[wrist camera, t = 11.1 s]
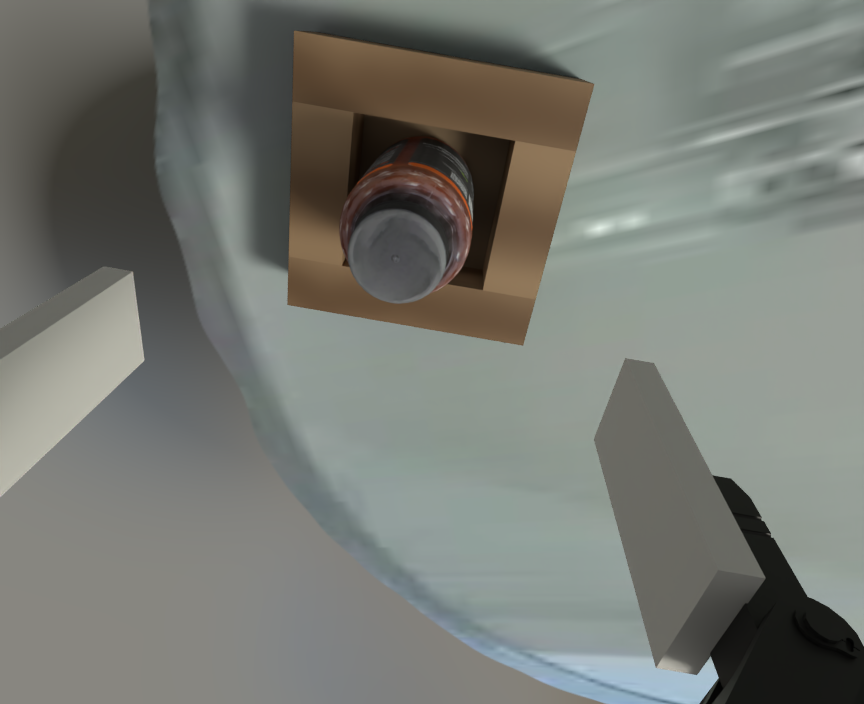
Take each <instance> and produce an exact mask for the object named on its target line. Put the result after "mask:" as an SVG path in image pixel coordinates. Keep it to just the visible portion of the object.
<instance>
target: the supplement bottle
mask: <svg viewBox="0 0 864 704" xmlns="http://www.w3.org/2000/svg"><path fill="white" fill-rule="evenodd" d="M473 200H474V187H473V182H472V176H471V173H470V171H469V168H468V166H467V164H466V162H465V161H464V160H463V158H462V156H461V155H460V154H459V153H458V152H457V151H456V150H455V149H453V148H452V147H451V146H450V145H448V144H446V143H445V142H443V141H441V140H438V139H435V138H431V137H424V136H416V137H408V138H405V139H402V140H400V141H398V142H396V143H394V144H393V145H391V146H390V147H388V148H387V149H386V150H385V151H383V153H382V154H381V155H380V156H379V157H378V158H377V159H376V161H375V162H374V163H373V164H372V166H371V167H370V168H369V169H368V170H367V172H366V173H365V174H364V175H363V177H362V178H361V179H360V181H358V183H357V184H356V186H355V187H354V188H353V190H352V191H351V192H350V194H349V195H348V197H347V199H346V201H345V204H344V206H343V209H342V213H341V217H340V224H339V235H340V241H341V247H342V250H343V253H344V255H345V257H346V260H347V262H348V263H349V267H350V270H351V272H352V275H353V277H354V278H355V280H356V281H357V283H358V284H359V285H360V286H361V287H362V288H363V289H364V290H365V291H366V292H367V293H369V294H370V295H372V296H373V297H375V298H377V299H379V300H382V301H385V302H389V303H397V304H402V303H409V302H414V301H417V300H419V299H422V298H423V297H425V296H427V295H429V294H430V293H433V292H435V291H438V290H439V289H440V288H442V287H444V286H445V285H446V284H448V283H449V282H450V281H451V280H452V279H453V278H454V277H455V276H456V275H457V274H458V273H459V271H460V270H461V268H462V267H463V265H464V263H465V261H466V258H467V256H468V253H469V249H470V245H471V238H472V226H473V224H472V221H473Z"/></svg>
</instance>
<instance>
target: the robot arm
mask: <svg viewBox="0 0 864 704" xmlns="http://www.w3.org/2000/svg"><path fill="white" fill-rule="evenodd" d="M143 354H144V353H143V346H142V338H141V332H140V323H139V316H138V309H137V301H136V293H135V286H134V278H133V272H132V271H126V270H121V269H115V268H109V267H102V268H101V269H99V270H97V271H96V272H94V273H92V274H91V275H89V276H87V277H86V278H84V279H82V280H81V281H79V282H77V283H76V284H74V285H72V286H71V287H69V288H68V289H66V290H64V291H62V292H61V293H59V294H57V295H56V296H54V297H52V298H51V299H49V300H47V301H46V302H44V303H42V304H41V305H39V306H37V307H36V308H34V309H32V310H31V311H29V312H27V313H26V314H24V315H22V316H21V317H19V318H17V319H16V320H14V321H12V322H11V323H9V324H7V325H6V326H4V327H2V328H1V329H0V497H1V496H2V495H3V494H4V493H5V492H6V491H7V490H8V489H9V488H10V487H11V486H13V484H15V483H16V482H17V481H18V480H19V479H20V478H21V477H22V476H23V475H24V474H25V473H26V472H27V471H28V470H29V469H30V468H31V467H33V466H34V464H36V463H37V462H38V461H39V460H40V459H41V458H42V457H43V456H44V455H45V454H46V453H47V452H48V451H49V450H50V449H52V448H53V447H54V446H55V445H56V444H57V443H58V442H59V441H60V440H61V439H62V438H63V437H64V436H65V435H66V434H67V433H68V432H69V431H70V430H71V429H73V427H75V426H76V425H77V424H78V423H79V422H80V421H81V420H82V419H83V418H84V417H85V416H86V415H87V414H88V413H89V412H91V410H93V409H94V408H95V407H96V406H97V405H98V404H99V403H100V402H101V401H102V400H103V399H104V398H105V397H106V396H107V395H108V394H110V392H112V391H113V390H114V389H115V388H116V387H117V386H118V385H119V384H120V383H121V382H122V381H123V380H124V379H125V378H126V377H127V376H128V375H130V374H131V373H132V372H133V371H134V370H135V369H136V368H137V367H138V366H139V365H140V364H141V363H142V362H143V361H144V355H143ZM594 441H595V445H596V449H597V452H598V456H599V460H600V463H601V467H602V471H603V474H604V478H605V482H606V485H607V489H608V493H609V496H610V500H611V504H612V507H613V511H614V515H615V519H616V522H617V526H618V530H619V533H620V537H621V541H622V544H623V548H624V552H625V555H626V559H627V563H628V566H629V570H630V574H631V577H632V581H633V585H634V588H635V592H636V596H637V599H638V603H639V607H640V610H641V614H642V618H643V621H644V625H645V629H646V632H647V636H648V640H649V644H650V647H651V651H652V655H653V658H654V662H655V666H656V668H660V669H666V670H671V671H677V672H683V673H689V674H694V675H697V674H698V673H699V672H700V670H701V669H702V667H703V666H704V665H705V663H706V662H707V660H708V659H709V658H710V656H711V658H712V660H713V663H714V666H715V668H716V671H717V674H718V677H719V678H718V680H717V681H716V682H715V684H714V685H713V686H712V688H711V689H710V690H709V692H708V693H707V694H706V696H705V697H704V698H703V700H702V701H701V702H700V704H864V646H863V644H862V642H861V640H860V639H859V637H858V635H857V633H856V632H855V631H854V630H853V629H852V628H851V627H850V625H849V624H848V623H847V622H846V621H845V620H844V619H843V618H842V617H840V616H839V615H838V614H837V613H835V612H834V611H833V610H831V609H830V608H829V607H827V606H825V605H823V604H821V603H820V602H818V601H816V600H814V599H812V598H809V597H807V595H806V593H805V592H804V590H803V588H802V586H801V585H800V583H799V581H798V580H797V578H796V576H795V574H794V573H793V571H792V569H791V567H790V566H789V564H788V562H787V561H786V559H785V557H784V555H783V554H782V552H781V550H780V548H779V547H778V545H777V543H776V541H775V540H774V538H771V533H770V531H769V529H768V528H767V526H766V524H765V522H764V521H761V518H762V517H761V515H760V514H759V512H758V510H757V509H756V507H755V505H754V503H753V502H752V500H751V498H750V497H749V496H748V495H747V494H746V493H745V492H744V491H743V490H742V489H741V488H740V487H739V486H738V485H737V484H736V483H735V482H734V481H733V480H732V479H730V478H724V477H718V476H713V475H712V474H711V472H710V470H709V468H708V466H707V464H706V462H705V460H704V459H703V457H702V455H701V453H700V451H699V449H698V447H697V445H696V443H695V441H694V439H693V437H692V435H691V434H690V432H689V430H688V428H687V426H686V424H685V422H684V420H683V418H682V416H681V414H680V412H679V410H678V409H677V407H676V405H675V403H674V401H673V399H672V397H671V395H670V393H669V391H668V389H667V387H666V385H665V384H664V382H663V380H662V378H661V376H660V374H659V372H658V370H657V368H656V366H655V364H654V363H650V362H644V361H638V360H632V359H627V358H625V360H624V363H623V366H622V368H621V371H620V373H619V376H618V378H617V381H616V384H615V386H614V389H613V391H612V394H611V396H610V399H609V402H608V404H607V407H606V409H605V412H604V414H603V417H602V420H601V422H600V425H599V427H598V430H597V432H596V435H595V438H594Z"/></svg>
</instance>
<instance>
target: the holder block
mask: <svg viewBox="0 0 864 704" xmlns="http://www.w3.org/2000/svg"><path fill="white" fill-rule="evenodd" d="M593 87H594V84H593V83H590V82H587V81H585V80H582V79H578V78H572V77H567V76H561V75H556V74H550V73H544V72H539V71H533V70H527V69H522V68H516V67H511V66H505V65H499V64H494V63H488V62H482V61H477V60H471V59H466V58H460V57H454V56H449V55H443V54H438V53H432V52H426V51H421V50H415V49H409V48H404V47H398V46H393V45H387V44H381V43H376V42H370V41H364V40H359V39H353V38H348V37H342V36H336V35H331V34H325V33H319V32H308V31H294V56H293V98H292V139H291V181H290V223H289V265H288V305H291V306H297V307H303V308H309V309H315V310H320V311H326V312H332V313H338V314H344V315H349V316H355V317H361V318H367V319H372V320H378V321H384V322H390V323H396V324H401V325H407V326H413V327H419V328H425V329H430V330H436V331H442V332H448V333H454V334H459V335H465V336H471V337H477V338H482V339H488V340H494V341H500V342H506V343H511V344H517V345H523V344H524V340H525V336H526V333H527V329H528V325H529V322H530V318H531V314H532V311H533V307H534V303H535V300H536V296H537V292H538V289H539V285H540V281H541V278H542V274H543V270H544V267H545V263H546V259H547V256H548V252H549V248H550V245H551V241H552V237H553V234H554V230H555V226H556V223H557V219H558V215H559V212H560V208H561V204H562V201H563V197H564V193H565V190H566V186H567V182H568V179H569V175H570V171H571V168H572V164H573V160H574V157H575V153H576V149H577V146H578V142H579V138H580V135H581V131H582V127H583V124H584V120H585V116H586V113H587V109H588V105H589V102H590V98H591V94H592V91H593ZM416 136H424V137H431V138H435V139H438V140H441V141H443V142H445V143H446V144H448V145H450V146H451V147H452V148H453V149H455V150H456V151H457V152H458V153H459V154H460V155H461V156H462V158H463V160H464V161H465V162H466V164H467V166H468V168H469V171H470V173H471V176H472V182H473V187H474V200H473V221H472V224H473V226H472V238H471V245H470V249H469V253H468V256H467V258H466V261H465V263H464V265H463V267H462V268H461V270H460V271H459V273H458V274H457V275H456V276H455V277H454V278H453V279H452V280H451V281H450V282H449V283H448V284H446V285H445V286H444V287H442V288H440V289H439V290H438V291H435V292H433V293H430V294H429V295H427V296H425V297H423V298H422V299H419V300H417V301H414V302H409V303H402V304H397V303H389V302H385V301H382V300H379V299H377V298H375V297H373V296H372V295H370V294H369V293H367V292H366V291H365V290H364V289H363V288H362V287H361V286H360V285H359V284H358V283H357V281H356V280H355V278H354V277H353V275H352V272H351V270H350V267H349V263H348V262H347V260H346V257H345V255H344V253H343V250H342V247H341V241H340V235H339V224H340V217H341V213H342V209H343V206H344V204H345V201H346V199H347V197H348V195H349V194H350V192H351V191H352V190H353V188H354V187H355V186H356V184H357V183H358V181H360V179H361V178H362V177H363V175H364V174H365V173H366V172H367V170H368V169H369V168H370V167H371V166H372V164H373V163H374V162H375V161H376V159H377V158H378V157H379V156H380V155H381V154H382V153H383V151H385V150H386V149H387V148H388V147H390V146H391V145H393V144H394V143H396V142H398V141H400V140H402V139H405V138H408V137H416Z"/></svg>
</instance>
